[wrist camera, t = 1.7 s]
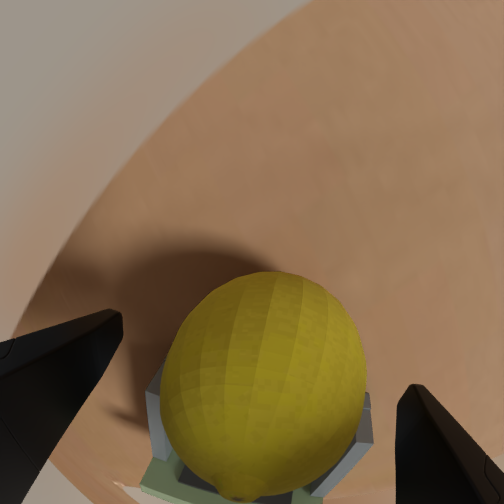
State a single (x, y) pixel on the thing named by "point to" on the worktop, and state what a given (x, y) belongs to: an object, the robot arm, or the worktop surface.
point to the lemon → (263, 385)
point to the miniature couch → (206, 495)
